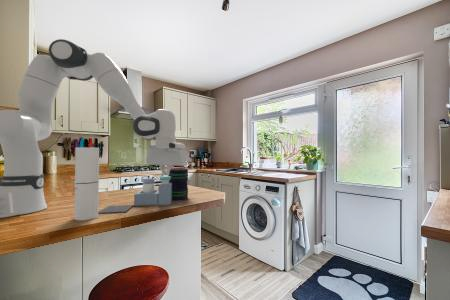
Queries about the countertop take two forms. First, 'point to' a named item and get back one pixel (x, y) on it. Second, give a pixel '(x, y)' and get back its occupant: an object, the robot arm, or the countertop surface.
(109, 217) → the countertop surface
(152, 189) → the filter cartridge
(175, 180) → the storage jar
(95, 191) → the cylindrical container
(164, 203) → the filter housing
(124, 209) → the rubber mat
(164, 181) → the plunger
